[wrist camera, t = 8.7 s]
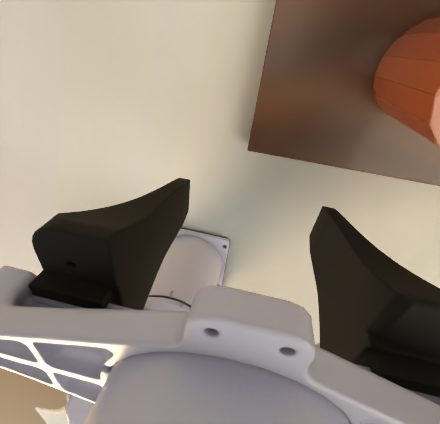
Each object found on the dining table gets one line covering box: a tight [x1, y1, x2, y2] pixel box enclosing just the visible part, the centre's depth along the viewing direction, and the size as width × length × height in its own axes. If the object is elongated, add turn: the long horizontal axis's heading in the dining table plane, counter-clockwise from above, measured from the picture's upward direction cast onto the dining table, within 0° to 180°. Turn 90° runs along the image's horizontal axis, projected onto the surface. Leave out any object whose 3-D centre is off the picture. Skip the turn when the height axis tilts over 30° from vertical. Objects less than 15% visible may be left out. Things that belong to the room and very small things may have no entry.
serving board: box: [248, 0, 440, 186], centre depth 16 cm, size 14×20×2 cm
